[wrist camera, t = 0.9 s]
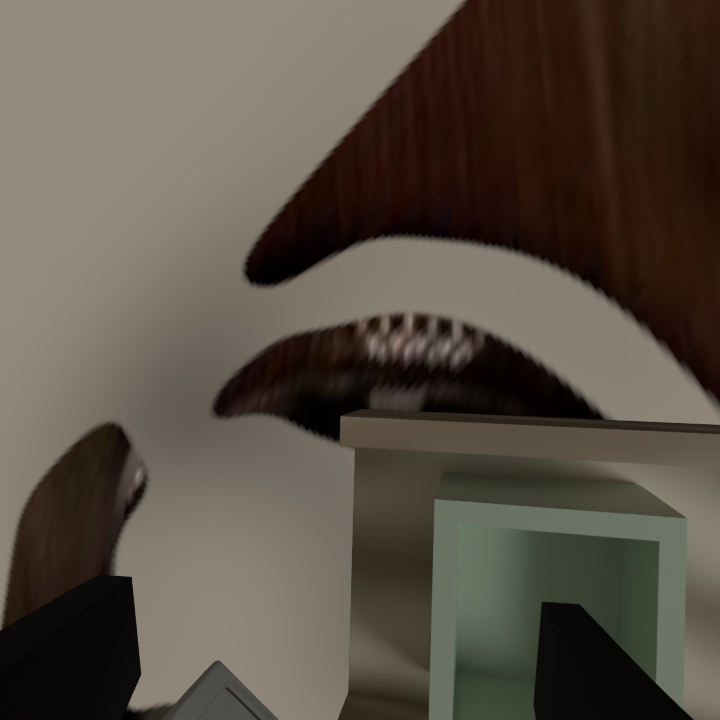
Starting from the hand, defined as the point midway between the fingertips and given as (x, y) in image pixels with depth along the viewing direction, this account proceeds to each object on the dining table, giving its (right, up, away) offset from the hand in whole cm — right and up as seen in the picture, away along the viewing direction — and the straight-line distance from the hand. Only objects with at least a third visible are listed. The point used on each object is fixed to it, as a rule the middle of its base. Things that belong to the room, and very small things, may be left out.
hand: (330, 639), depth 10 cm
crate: (+8, -5, +14) cm, 17 cm away
